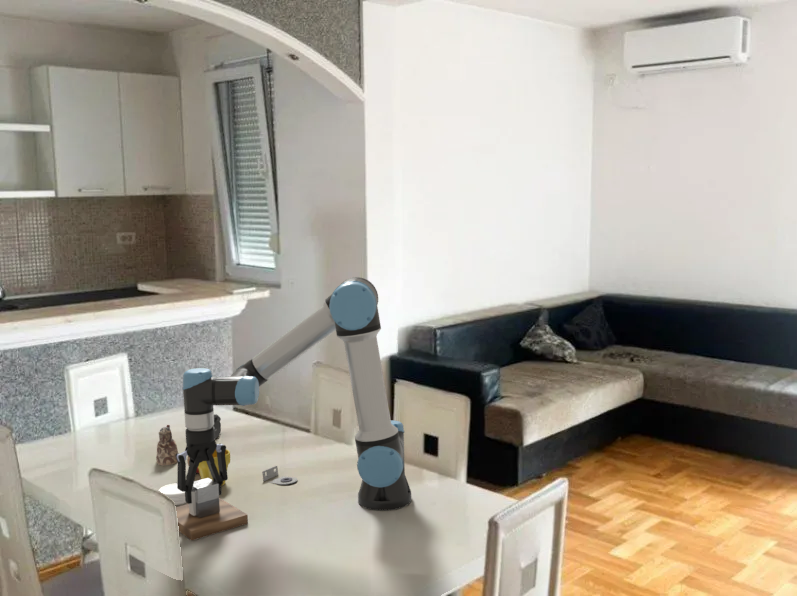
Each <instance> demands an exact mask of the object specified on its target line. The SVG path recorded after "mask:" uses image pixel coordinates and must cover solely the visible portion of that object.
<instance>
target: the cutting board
mask: <svg viewBox="0 0 797 596" xmlns="http://www.w3.org/2000/svg"><path fill="white" fill-rule="evenodd" d="M219 505H220V512H219V513H215V514H212V515H208V516H205V517H201V518H198V517H197V516H193V515H191V514H190V513H189V504H188V503H185V504H181V505H178V506H175V507H176V511H177V518H178V526H179V531H178V532H179V533H180V534H182V535H184V536H185V537H186V538H187V539H188V540H190V541H191V542H192V541H195V540H199V539H202V538H206V537H209V536H212V535H214V534H218V533H219V534H220V533H222V532H225V531H228V530H231V529H235V528H238V527H241V526H244V525H247V524H249V523H248V522H249V521H248V520H249V519H248V516H249V515H248V514H247V513H246V512H244V511H242V510H241V509H240V508H237V507H235V506H233V505H232V504H231V503H229V502H227V501H226V500H223V499H222V498H220V497H219Z"/></svg>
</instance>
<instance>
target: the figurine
mask: <svg viewBox="0 0 797 596" xmlns="http://www.w3.org/2000/svg"><path fill="white" fill-rule="evenodd" d="M158 438H159V441H158V442H157V445H156V457H155V460H156V464H158V465H159V466H171V465H175V464H178V462H177V459H176V456H175V455H176V454H177V453H179V450H178V449H179V448H178V446H177V443H176V441H175V440H174V439H173V435H172V430H171V426H170V424H166V426H163V427H161V428H160V430H159V431H158Z"/></svg>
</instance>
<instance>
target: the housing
mask: <svg viewBox="0 0 797 596" xmlns="http://www.w3.org/2000/svg"><path fill="white" fill-rule="evenodd" d="M192 490H193V491H195V502H196V515H195V516H197V517H198V518H201V517H205V516H208V515H212V514H215V513H219V512H220V505H219V498H220V495H219V486H218V483H217V482H215V481H213V480H211V479H210V478H205V479H201V478H200V479H199V480H194V484H193V488H192Z"/></svg>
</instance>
